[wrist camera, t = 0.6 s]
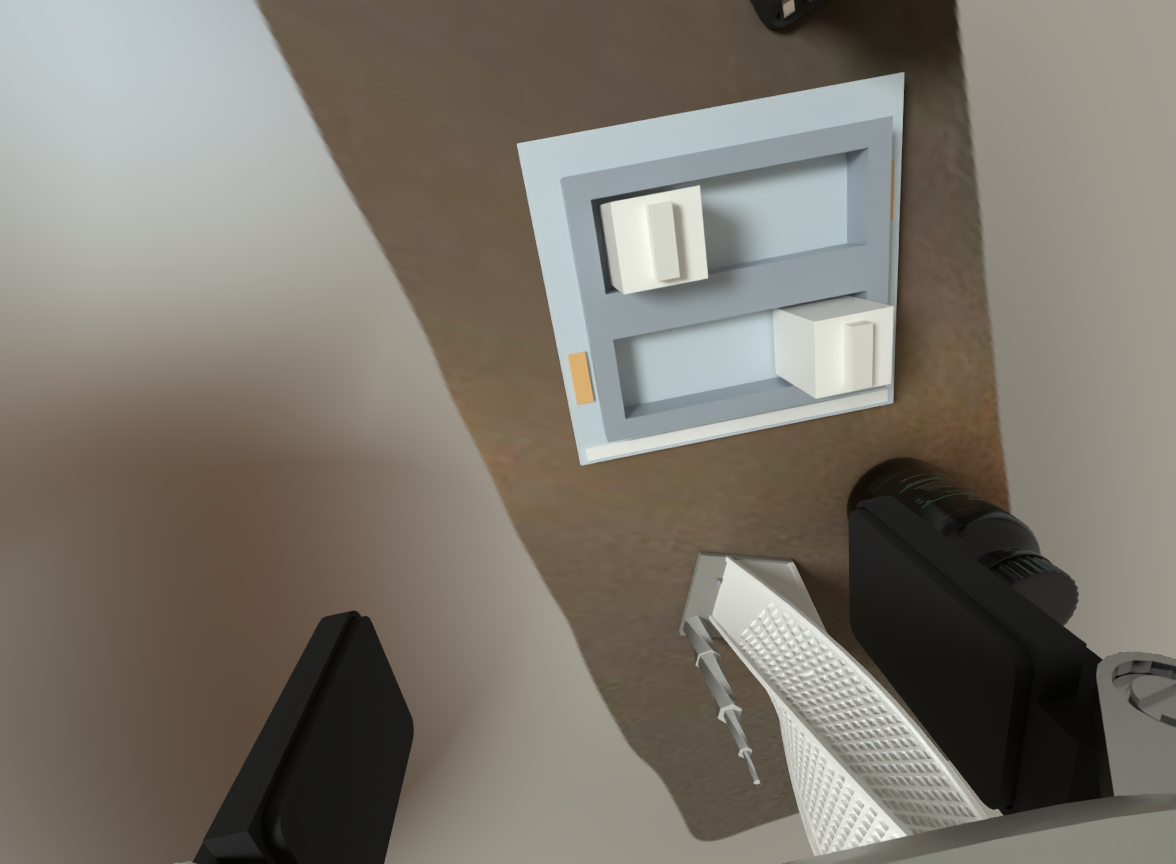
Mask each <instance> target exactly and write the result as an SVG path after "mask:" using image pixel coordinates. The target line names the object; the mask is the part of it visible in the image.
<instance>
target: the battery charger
mask: <svg viewBox="0 0 1176 864" xmlns="http://www.w3.org/2000/svg"><path fill="white" fill-rule="evenodd" d="M824 1H825V0H751V2H752V4H753V7H754V9H755V11H756V13H757V14H758V16H759V17H760V19H761V21H762V22H763V23H764V24H765V25H766V26H767V27H769V28H771V29H781V28H783V27H785V26H787V25H789V24H791V23H792V22H794V21H796V20H797V19H799V18H800V17H802V16H803V15H805V14H806V13H808V12H809V11H811V10H812V9H814V8H815V7H817V6H818V5H819V4H821V3H822V2H824Z"/></svg>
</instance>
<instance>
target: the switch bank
mask: <svg viewBox="0 0 1176 864" xmlns="http://www.w3.org/2000/svg"><path fill="white" fill-rule="evenodd" d="M903 99H904V72H902V73H897V74H891V75H886V76H881V77H875V78H870V79H864V80H859V81H853V82H848V83H843V84H837V85H832V86H826V87H821V88H816V89H810V90H805V91H799V92H794V93H789V94H783V95H778V96H772V97H767V98H762V99H756V100H751V101H745V102H740V103H735V104H729V105H724V106H718V107H713V108H708V109H702V110H697V111H691V112H686V113H680V114H675V115H670V116H664V117H659V118H653V119H648V120H643V121H637V122H632V123H626V124H621V125H616V126H610V127H605V128H599V129H594V130H589V131H583V132H578V133H572V134H567V135H562V136H556V137H551V138H545V139H540V140H535V141H529V142H524V143H518V144H517V147H518V152H519V157H520V162H521V167H522V172H523V178H524V183H525V188H526V193H527V198H528V203H529V208H530V213H531V218H532V223H533V228H534V233H535V238H536V243H537V248H538V253H539V258H540V263H541V268H542V273H543V278H544V283H545V288H546V293H547V298H548V303H549V308H550V313H551V318H552V323H553V328H554V333H555V339H556V344H557V349H558V354H559V359H560V364H561V369H562V374H563V379H564V384H565V389H566V394H567V399H568V404H569V409H570V414H571V419H572V424H573V429H574V434H575V439H576V444H577V449H578V454H579V459H580V464H581V465H586V464H591V463H596V462H601V461H606V460H611V459H616V458H621V457H626V456H631V455H636V454H641V453H646V452H651V451H656V450H661V449H666V448H671V447H676V446H681V445H686V444H691V443H696V442H701V441H706V440H711V439H716V438H721V437H726V436H731V435H736V434H741V433H746V432H751V431H756V430H761V429H766V428H771V427H776V426H781V425H786V424H791V423H796V422H801V421H806V420H811V419H816V418H821V417H826V416H831V415H836V414H841V413H846V412H851V411H856V410H861V409H866V408H871V407H876V406H881V405H886V404H891V403H893V395H894V365H895V335H896V306H897V276H898V247H899V217H900V188H901V158H902V129H903ZM699 185H700V193H701V204H702V215H703V226H704V237H705V248H706V259H707V270H708V278H707V279H702V280H697V281H692V282H686V283H681V284H676V285H671V286H666V287H661V288H655V289H650V290H645V291H640V292H635V293H629V294H623V293H621V292H620V291H619V290H617V289H616V288H615V287H614V286H612V285H611V284H610V282H609V275H608V269H607V262H606V256H605V249H604V243H603V237H602V230H601V224H600V217H599V211H598V205H601V204H605V203H609V202H614V201H619V200H624V199H630V198H635V197H640V196H646V195H651V194H656V193H662V192H667V191H672V190H677V189H683V188H688V187H693V186H699ZM841 295H848V296H852V297H856V298H861V299H865V300H869V301H874V302H878V303H882V304H886V305H891V306H894V314H893V346H892V377H891V384H888V385H883V386H878V387H873V388H868V389H862V390H857V391H852V392H847V393H842V394H837V395H832V396H827V397H822V398H817V399H815V398H814V397H812V396H811V395H809V394H807V393H806V392H804V391H803V390H801V389H799V388H798V387H796V386H795V385H793V384H791V383H790V382H788V381H787V380H785V379H783V378H782V377H780V376H779V375H777V374H776V369H775V348H774V328H773V309H774V308H779V307H784V306H790V305H795V304H800V303H805V302H810V301H815V300H820V299H826V298H831V297H836V296H841Z"/></svg>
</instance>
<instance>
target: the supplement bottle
mask: <svg viewBox="0 0 1176 864" xmlns="http://www.w3.org/2000/svg"><path fill="white" fill-rule="evenodd" d="M883 496H893V497H894V498H896V499H897V500H899V501H900V502H901V503H902V504H904V505H905V506H906V507H908V508H909V509H910V510H912V511H913V512H914V513H916V514H917V515H918V516H920V517H921V518H922V519H923V520H925V521H926V522H927V523H929V524H930V525H931V526H933V527H934V528H935V529H937V530H938V531H939V532H940V533H942V534H943V535H944V536H946V537H947V538H948V539H950V540H951V541H952V542H954V543H955V544H956V545H958V546H959V547H960V548H961V549H963V550H964V551H965V552H967V553H968V554H969V555H971V556H972V557H973V558H975V559H976V560H977V561H978V562H980V563H981V564H982V565H984V566H985V567H986V568H988V569H989V570H990V571H992V572H993V573H994V574H995V575H997V576H998V577H999V578H1001V579H1002V580H1003V581H1005V582H1006V583H1007V584H1009V585H1010V586H1011V587H1013V588H1014V589H1015V590H1016V591H1018V592H1019V593H1020V594H1022V595H1023V596H1024V597H1026V598H1027V599H1028V600H1030V601H1031V602H1032V603H1033V604H1035V605H1036V606H1037V607H1039V608H1040V609H1041V610H1043V611H1044V612H1045V613H1047V614H1048V615H1049V616H1051V617H1052V618H1053V619H1054V620H1056V621H1057V622H1058V623H1060V624H1061V625H1062V626H1064V625H1065V624H1066V623H1067V622H1068V620H1069V619H1070V618H1071V617H1072V615H1073V612H1074V611H1075V609H1076V604H1077V603H1078V594H1079V593H1078V592H1077V588H1078V587H1077V586H1076V585H1075V581H1074V580H1073V579H1072V578H1070V576H1069V575H1068V574H1067V573H1065V572H1064V571H1062V570H1061V569H1059V568H1058V567H1056V566H1054V565H1053V564H1052V563H1051V562H1050V561H1049V560H1048V559H1046V558H1044V557H1043V556H1041V554H1040V548H1039V544H1038V542H1037V540H1036V537H1035V536H1034V534H1033V533H1032V531H1031V530H1030V529H1029V528H1028V526H1026V525H1025V524H1024V523H1023V522H1021V521H1020V520H1018V519H1017V518H1016V517H1014V516H1012V515H1011V514H1009V513H1008V512H1006V511H1004V510H1003V509H1001V508H999V507H998V506H996V505H995V504H993V503H991V502H990V501H988V500H986V499H985V498H983V497H981V496H980V495H978V494H977V493H975V492H973V491H972V490H970V489H968V488H967V487H965V486H963V485H962V484H960V483H959V482H957V481H955V480H954V479H952V478H950V477H949V476H947V475H945V474H944V473H942V472H941V471H939V470H937V469H935V468H934V467H932V466H930V465H929V464H927V463H925V462H923V461H920V460H917V459H911V458H897V459H892V460H888V461H885V462H883V463H880V464H878V465H876V466H875V467H873V468H871V469H870V470H869V471H867V472H866V473H865V474H864V475H863V476H862V477H861V478H860V479H859V480H858V482H857V483H856V484H855V486H854V487H853V489H852V491H851V493H850V496H849V499H848V504H847V517H848V521H849V514H850V512H851V511H854V510H856V506H857V504H858V503H859V502H860V501H864V500H869V499H873V498H878V497H883Z"/></svg>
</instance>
